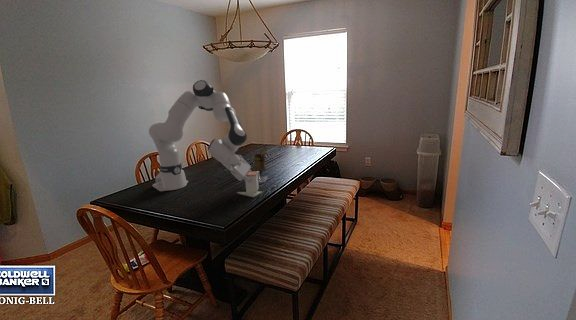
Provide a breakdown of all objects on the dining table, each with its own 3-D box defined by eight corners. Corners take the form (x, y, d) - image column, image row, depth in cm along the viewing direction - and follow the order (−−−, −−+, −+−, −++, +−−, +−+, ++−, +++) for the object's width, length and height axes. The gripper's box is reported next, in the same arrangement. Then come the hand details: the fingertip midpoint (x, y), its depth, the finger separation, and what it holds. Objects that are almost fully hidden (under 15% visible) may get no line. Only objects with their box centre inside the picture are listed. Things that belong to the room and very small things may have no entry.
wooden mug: (261, 174, 188) (259, 147, 183) (251, 170, 198) (248, 145, 193) (272, 171, 193) (270, 145, 189) (261, 167, 203) (259, 143, 199)
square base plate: (247, 184, 169) (246, 174, 167) (250, 178, 180) (249, 169, 178) (265, 183, 168) (264, 173, 167) (267, 178, 179) (267, 168, 177)
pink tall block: (246, 192, 154) (244, 175, 151) (248, 188, 159) (246, 171, 157) (257, 192, 153) (255, 174, 151) (258, 188, 159) (257, 171, 157)
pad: (237, 193, 155) (237, 191, 155) (252, 186, 165) (252, 185, 164) (253, 197, 148) (253, 195, 148) (268, 190, 158) (267, 188, 157)
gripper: (232, 163, 142) (253, 181, 144) (240, 154, 162) (259, 169, 164) (224, 172, 143) (245, 189, 145) (234, 162, 163) (252, 177, 165)
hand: (252, 179), depth 155 cm, fingers open, 8 cm apart
